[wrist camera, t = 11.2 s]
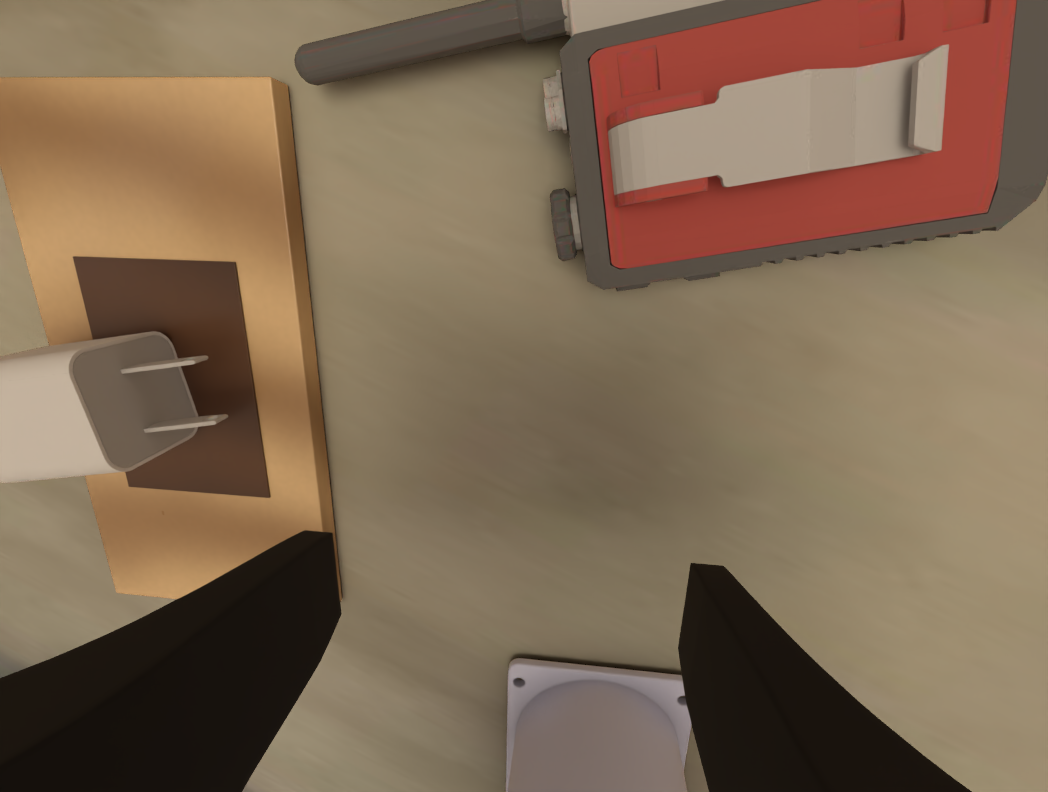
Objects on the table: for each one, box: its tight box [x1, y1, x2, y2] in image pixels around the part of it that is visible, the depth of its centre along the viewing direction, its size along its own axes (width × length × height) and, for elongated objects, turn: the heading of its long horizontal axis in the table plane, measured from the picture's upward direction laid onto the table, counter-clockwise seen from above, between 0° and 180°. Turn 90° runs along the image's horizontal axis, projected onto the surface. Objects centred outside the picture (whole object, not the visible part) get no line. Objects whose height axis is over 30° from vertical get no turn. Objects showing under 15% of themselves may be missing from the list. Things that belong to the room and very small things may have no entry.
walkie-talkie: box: [295, 0, 1048, 291], centre depth 14 cm, size 9×4×20 cm
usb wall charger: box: [0, 331, 228, 483], centre depth 17 cm, size 4×7×4 cm, turn 98°
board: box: [0, 77, 342, 602], centre depth 20 cm, size 20×10×1 cm, turn 179°
